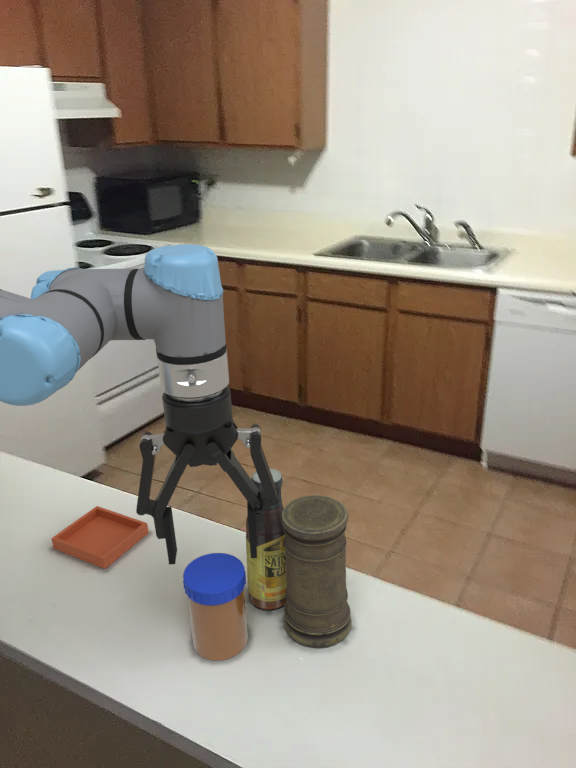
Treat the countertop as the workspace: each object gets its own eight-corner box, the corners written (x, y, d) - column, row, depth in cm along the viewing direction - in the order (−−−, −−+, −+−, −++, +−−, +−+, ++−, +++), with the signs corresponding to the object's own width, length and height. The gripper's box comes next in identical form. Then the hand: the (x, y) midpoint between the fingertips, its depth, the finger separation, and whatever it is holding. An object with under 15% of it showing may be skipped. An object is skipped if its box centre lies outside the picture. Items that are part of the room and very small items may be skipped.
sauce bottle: (271, 619, 91) (264, 495, 83) (239, 598, 95) (229, 479, 87) (302, 594, 96) (298, 474, 88) (271, 575, 99) (264, 459, 92)
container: (361, 639, 87) (362, 525, 80) (295, 656, 85) (290, 540, 78) (337, 594, 95) (336, 486, 88) (276, 609, 93) (270, 499, 86)
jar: (191, 662, 85) (183, 597, 80) (194, 621, 91) (187, 559, 87) (248, 658, 85) (243, 593, 81) (247, 617, 92) (242, 555, 87)
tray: (53, 548, 107) (51, 538, 106) (98, 515, 115) (96, 505, 115) (105, 569, 102) (103, 558, 101) (148, 533, 110) (147, 522, 109)
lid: (181, 608, 81) (180, 595, 80) (186, 566, 88) (185, 554, 87) (246, 603, 81) (245, 591, 80) (245, 562, 88) (244, 550, 87)
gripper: (88, 409, 70) (119, 581, 79) (297, 396, 71) (304, 567, 80) (101, 381, 77) (128, 542, 86) (292, 369, 77) (299, 529, 86)
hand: (213, 554), depth 83 cm, fingers open, 9 cm apart
